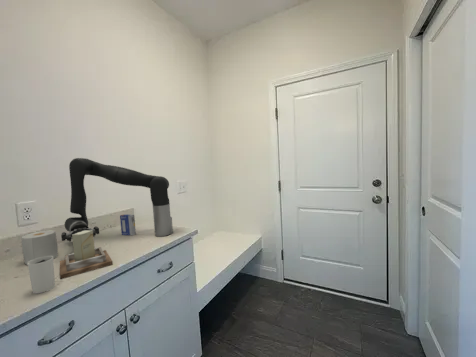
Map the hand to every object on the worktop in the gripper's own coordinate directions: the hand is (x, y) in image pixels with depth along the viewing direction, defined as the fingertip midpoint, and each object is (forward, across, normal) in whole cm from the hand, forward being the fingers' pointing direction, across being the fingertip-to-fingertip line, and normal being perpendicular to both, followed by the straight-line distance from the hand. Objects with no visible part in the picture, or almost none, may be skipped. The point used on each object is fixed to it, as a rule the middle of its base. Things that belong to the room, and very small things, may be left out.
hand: (82, 236), depth 101 cm
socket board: (+7, 0, +10) cm, 13 cm away
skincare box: (+7, 0, +9) cm, 11 cm away
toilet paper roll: (-16, -15, +10) cm, 24 cm away
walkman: (-26, +24, +10) cm, 37 cm away
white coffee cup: (+20, -13, +10) cm, 26 cm away
